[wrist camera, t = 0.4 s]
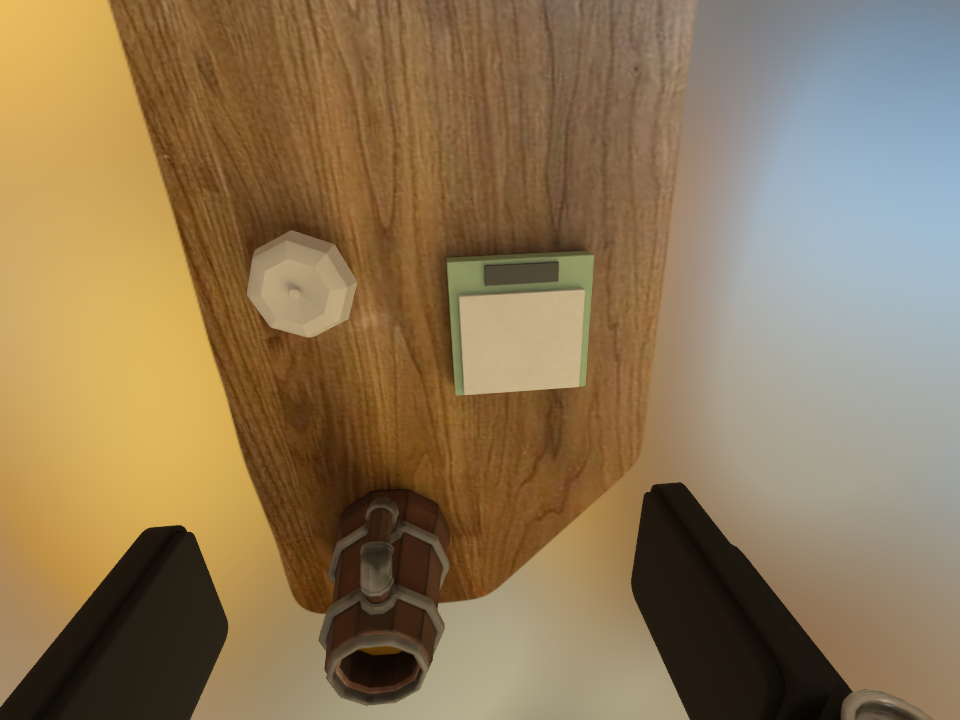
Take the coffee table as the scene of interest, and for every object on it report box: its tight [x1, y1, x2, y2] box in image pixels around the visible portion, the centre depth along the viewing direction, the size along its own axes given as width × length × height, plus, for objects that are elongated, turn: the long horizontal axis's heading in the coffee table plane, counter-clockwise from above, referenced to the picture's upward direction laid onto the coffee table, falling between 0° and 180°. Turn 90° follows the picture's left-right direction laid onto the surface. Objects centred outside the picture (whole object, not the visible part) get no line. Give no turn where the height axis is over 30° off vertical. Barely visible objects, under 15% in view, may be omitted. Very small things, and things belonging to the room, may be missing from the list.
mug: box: [319, 490, 450, 706], centre depth 40 cm, size 16×12×15 cm
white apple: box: [247, 230, 357, 338], centre depth 33 cm, size 8×8×7 cm
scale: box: [446, 251, 594, 395], centre depth 38 cm, size 12×12×3 cm
